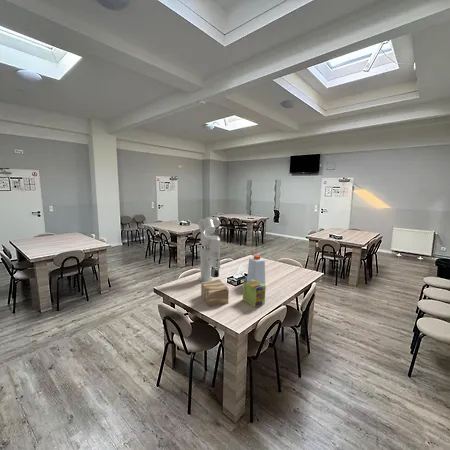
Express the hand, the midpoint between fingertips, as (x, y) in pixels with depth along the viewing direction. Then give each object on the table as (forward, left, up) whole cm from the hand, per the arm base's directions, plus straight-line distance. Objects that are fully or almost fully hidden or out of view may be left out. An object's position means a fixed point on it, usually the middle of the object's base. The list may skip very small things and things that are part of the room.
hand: (214, 274), depth 191 cm
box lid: (0, 0, -10) cm, 10 cm away
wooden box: (0, 0, -21) cm, 21 cm away
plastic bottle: (-14, +47, -21) cm, 53 cm away
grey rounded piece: (0, 0, -1) cm, 1 cm away
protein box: (+15, +28, -21) cm, 38 cm away
